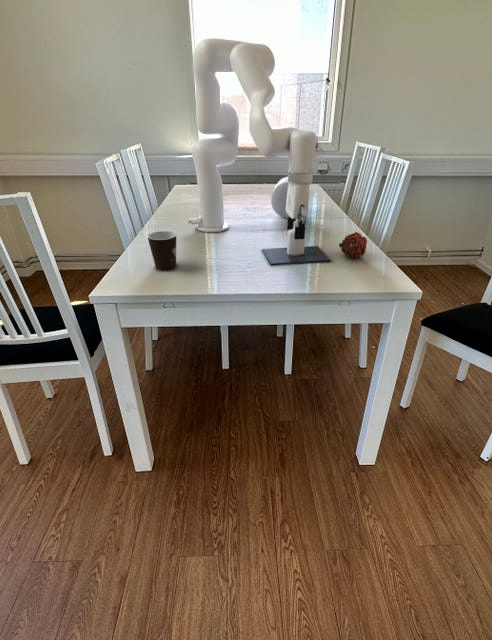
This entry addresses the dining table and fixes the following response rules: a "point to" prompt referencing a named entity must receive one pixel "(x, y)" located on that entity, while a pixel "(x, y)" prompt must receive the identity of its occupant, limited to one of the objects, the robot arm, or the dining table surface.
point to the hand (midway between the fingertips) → (295, 234)
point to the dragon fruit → (354, 245)
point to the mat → (281, 257)
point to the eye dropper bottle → (295, 243)
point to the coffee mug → (163, 249)
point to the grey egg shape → (280, 198)
